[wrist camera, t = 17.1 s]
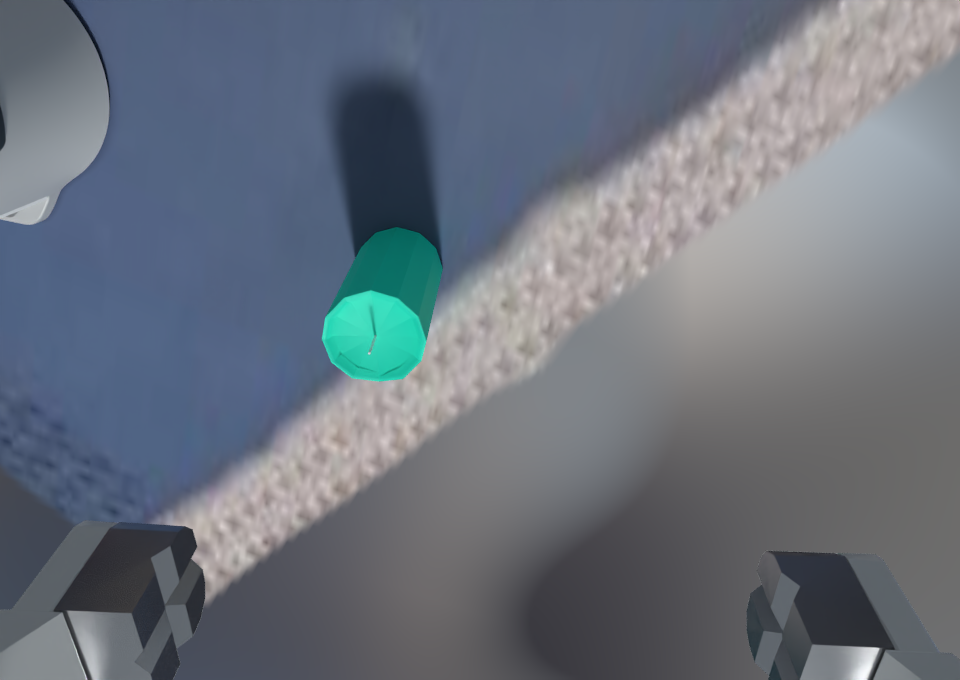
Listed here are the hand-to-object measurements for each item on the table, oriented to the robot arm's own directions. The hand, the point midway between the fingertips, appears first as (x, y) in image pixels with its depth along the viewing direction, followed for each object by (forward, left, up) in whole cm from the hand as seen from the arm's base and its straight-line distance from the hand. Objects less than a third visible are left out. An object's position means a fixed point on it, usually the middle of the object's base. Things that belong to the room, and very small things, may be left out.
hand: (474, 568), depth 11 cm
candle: (-7, -12, -39) cm, 42 cm away
